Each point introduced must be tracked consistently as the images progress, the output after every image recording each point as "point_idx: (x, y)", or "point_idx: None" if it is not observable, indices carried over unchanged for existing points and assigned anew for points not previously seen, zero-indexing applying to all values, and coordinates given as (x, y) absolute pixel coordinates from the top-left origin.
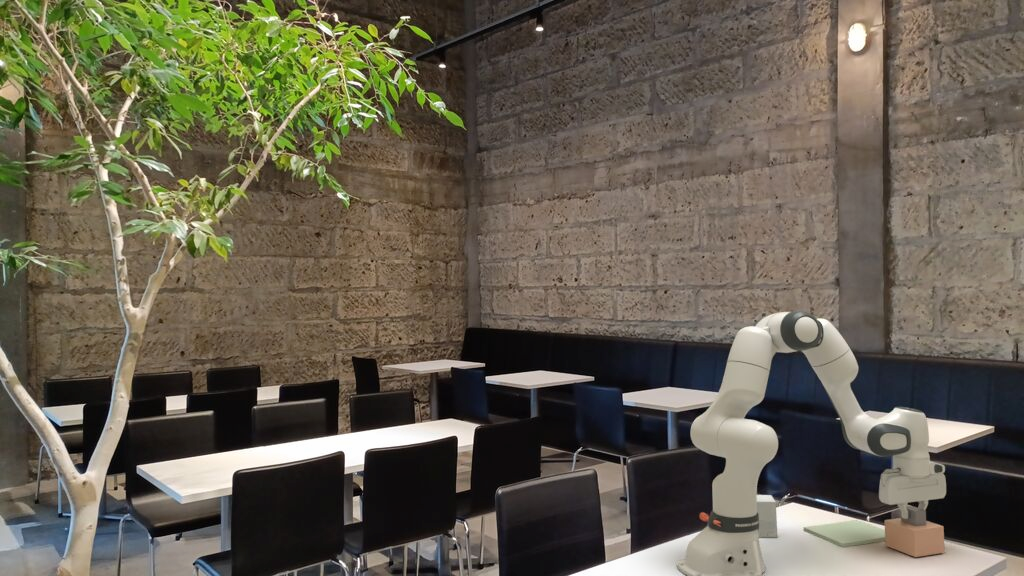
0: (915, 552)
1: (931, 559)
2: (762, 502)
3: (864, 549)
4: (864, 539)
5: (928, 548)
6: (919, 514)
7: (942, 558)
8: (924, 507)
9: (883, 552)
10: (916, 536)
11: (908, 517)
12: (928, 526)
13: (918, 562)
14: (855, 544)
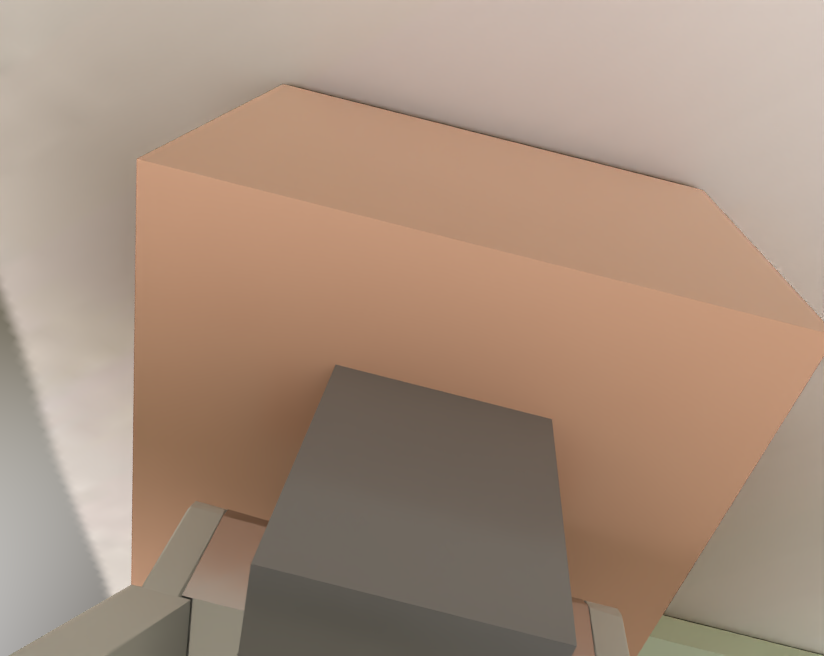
0: (715, 204)
1: (586, 66)
2: None
3: (764, 557)
4: None
5: (512, 161)
6: (459, 548)
7: (450, 8)
8: (124, 643)
9: None
10: (753, 277)
11: (579, 610)
12: (380, 308)
13: (810, 99)
14: (711, 632)
